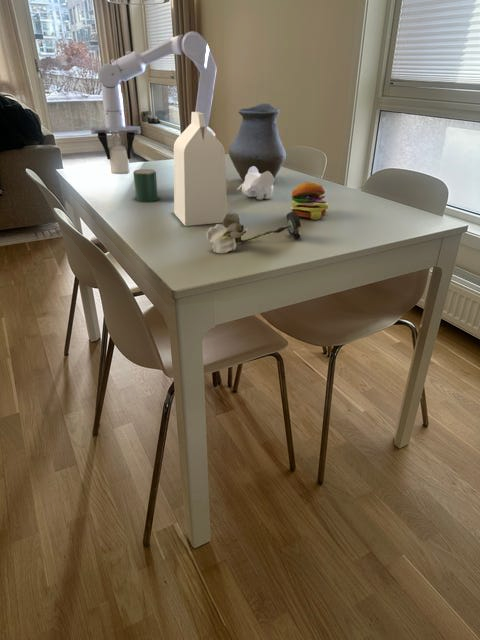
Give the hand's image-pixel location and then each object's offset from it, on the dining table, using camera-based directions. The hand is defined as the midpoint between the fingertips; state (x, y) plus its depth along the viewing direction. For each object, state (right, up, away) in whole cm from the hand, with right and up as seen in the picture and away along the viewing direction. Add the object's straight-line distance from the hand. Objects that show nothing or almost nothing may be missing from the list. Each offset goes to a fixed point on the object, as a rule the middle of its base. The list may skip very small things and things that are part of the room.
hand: (119, 158), depth 141 cm
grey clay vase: (+44, 0, +24) cm, 50 cm away
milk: (+27, -23, -18) cm, 39 cm away
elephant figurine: (+43, -12, +2) cm, 45 cm away
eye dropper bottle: (0, -4, +2) cm, 5 cm away
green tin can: (+9, -13, -2) cm, 16 cm away
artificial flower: (+41, -33, -35) cm, 63 cm away
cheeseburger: (+57, -21, -13) cm, 62 cm away
